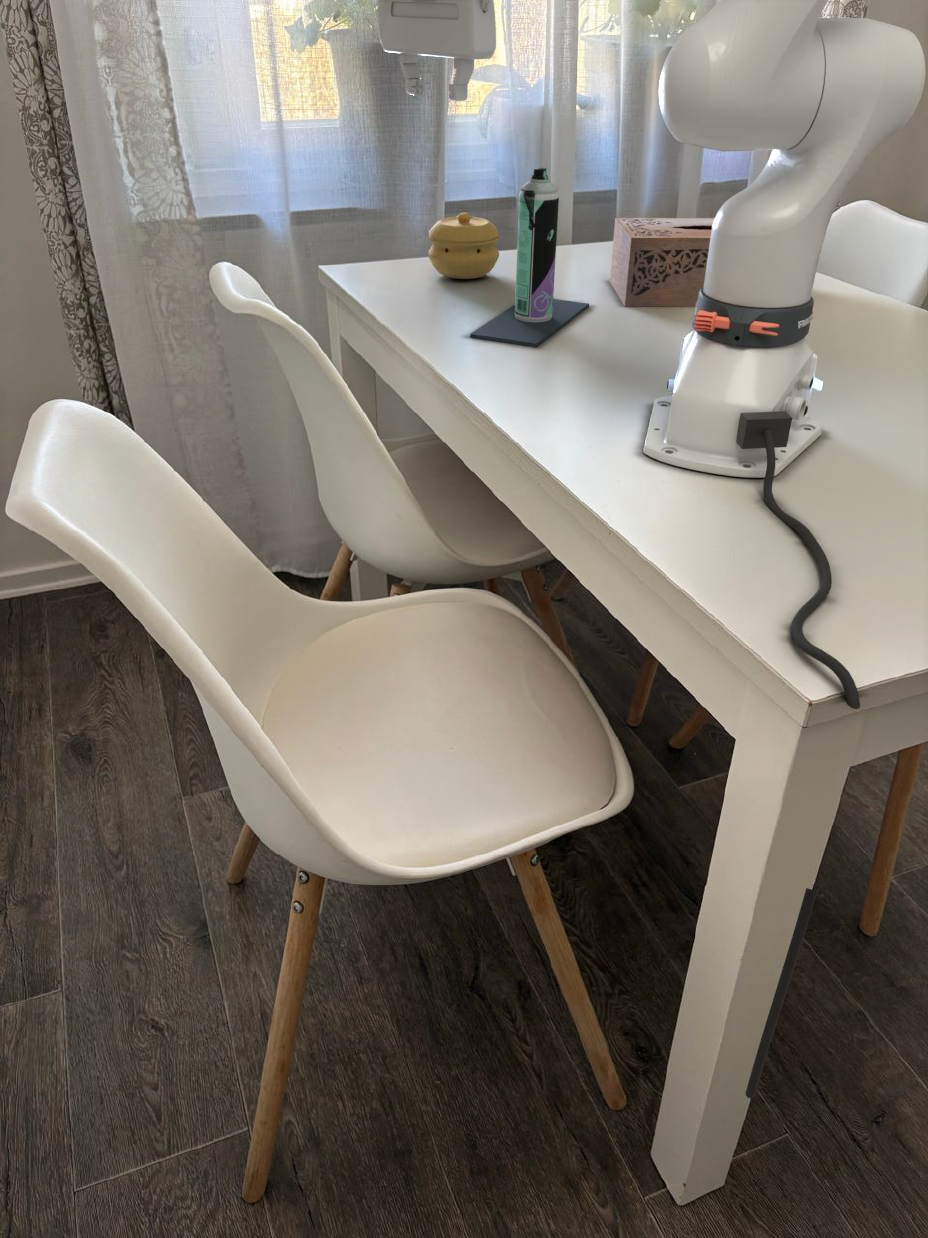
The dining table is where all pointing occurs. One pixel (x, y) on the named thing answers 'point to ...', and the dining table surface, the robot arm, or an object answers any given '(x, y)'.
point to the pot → (463, 246)
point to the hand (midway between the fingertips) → (435, 97)
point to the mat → (529, 325)
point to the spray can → (536, 248)
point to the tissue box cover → (660, 260)
